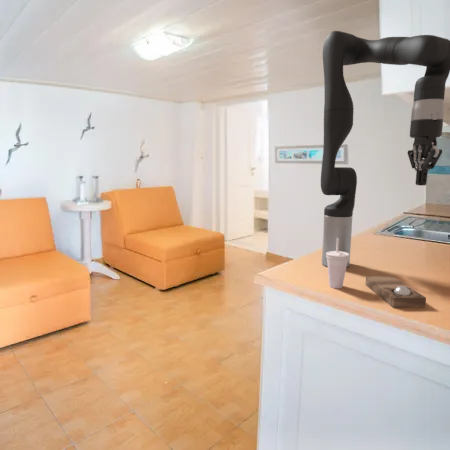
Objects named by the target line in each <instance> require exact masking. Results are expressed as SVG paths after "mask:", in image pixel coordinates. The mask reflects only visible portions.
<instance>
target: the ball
mask: <svg viewBox="0 0 450 450" xmlns="http://www.w3.org/2000/svg"><path fill="white" fill-rule="evenodd" d="M393 293H394V294H398V295H402V296H411V293H410V291H409V289H408V288H406V287H404V286H399V287H397V288H395V290H394V292H393Z"/></svg>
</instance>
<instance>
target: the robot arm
mask: <svg viewBox="0 0 450 450" xmlns="http://www.w3.org/2000/svg"><path fill="white" fill-rule="evenodd" d="M364 63H365V64H366V63H372V64H373V63H375V64H381V63H382V64H383V65H395V66H406V65H414V66H419V67H420V66H423V67H426V69H425V73H424V76H422V77H419V78H417V80H416V82H415V84H414V90H413V91H414V92H413V103H412V108H411V113H410V126H409V137H410V138H412V139H414V141H413V143H412V148H411V150H408V151H407V156H408V159H409V163H410V166H411V169H414V171H415V172H416V175H415V185H416V186H426V185H427V182H428V181H427V180H428V172H430V170H434V168H435V166H436V165H437V162H438V161H439V159H440V158H441V155H442V154H443V149H441V148H440V149H438V146H437V145H438V141H437V138H441V136H442V135H443V125H444V114H445V94H446V93H445V92H446V83H447V80H448V78H449V75H450V39H448V38H445V37H441V36H438V35H432V34H419V35H413V36H389V37H388V36H387V37H383V38H379V39H366V38H362V37H358V36H356V35H355V34H352V33H348V32H345V31H340V30H333V31H330V32H329V34H327V36H326V38H325V40H324V43H323V46H322V66H323V77H324V78H323V81H324V105H323V146H322V147H323V149H322V150H323V152H322V159H321V171H320V188H321V192H322V194H324V195H325V196H339V198H338V200H336V201H334V202H333V203H331V204H328V205H326V206H325V207H324V210H323V212H324V213H323V230H322V231H323V232H322V253H321V265H323V266H325V267H328V264H327V257H326V252H329V251H336V243H337V238H339V244H338V251H342V252H346V253H348V254H349V259H348V261H347V266H346V268H348V267H350V262H351V261H350V260H351V249H352V248H351V245H352V231H353V230H352V229H353V215H354V208H355V202H356V192H357V184H358V176H357V172H356V170H355V169H354V168H353V167H349V166H348V167H347V166H345V167H344V166H341V167H339V166H338V167H337V166H336V160H337V155H338V153H339V151H340V149H341V146H342V145H343V143H344V142H345V141H346V139H347V138H348V136H349V134H350V133H351V131H352V129H353V125H354V109H355V108H354V103H353V99H352V96H351V93H350V91H349V89H348V86H347V84H346V80H345V76H344V75H345V74H344V66H352V65H356V64H357V65H358V64H364ZM382 64H381V65H382Z"/></svg>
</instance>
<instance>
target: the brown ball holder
mask: <svg viewBox="0 0 450 450" xmlns="http://www.w3.org/2000/svg"><path fill="white" fill-rule="evenodd" d="M364 284H365V286H366V287H368V289H370V290H371V291H373V293H375V294H376V295H378V297H380V298H381V299H382V300H383V301H384V302H385V303H387V304H388V305H389V306H390V307H392V308H393V309H394V308H395V309H396V308H426V305H427V303H426V302H427V297H426V296H424V294H421V293H420V292H418V291H416V290H415V289H414V288H413V287H411V286H409V285H407V283H405V282H403V281H402V280H400V279H398V278H397V277H396V276H394V275H391V276H390V275H386V276H385V275H384V276H381V275H380V276H379V275H377V276H376V275H375V276H374V275H373V276H369V275H368V276H365V283H364ZM399 286H404V287H406V288H408V289H409V291H410V293H411V296H402V295H398V294H394V293H393V292H394V290H395V288H397V287H399Z"/></svg>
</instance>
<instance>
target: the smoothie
mask: <svg viewBox="0 0 450 450" xmlns="http://www.w3.org/2000/svg"><path fill="white" fill-rule="evenodd" d="M338 244H339V238H337V243H336V251H329V252H326V257H327V264H328V266H327V274H328V275H327V276H328V286H329V288H333V289H342V288H343V287H344V281H345V275H346V271H347V267H346V266H347V261H348V259H349V254H348V253H346V252H342V251H338Z"/></svg>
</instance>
